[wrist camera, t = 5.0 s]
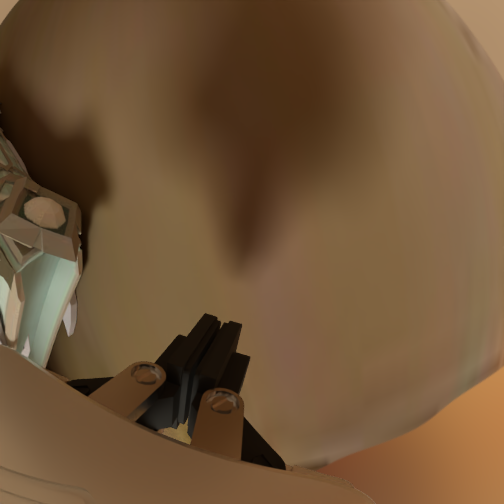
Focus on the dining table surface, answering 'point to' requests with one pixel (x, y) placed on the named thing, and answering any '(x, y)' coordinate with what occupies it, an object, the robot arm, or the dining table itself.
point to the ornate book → (35, 260)
